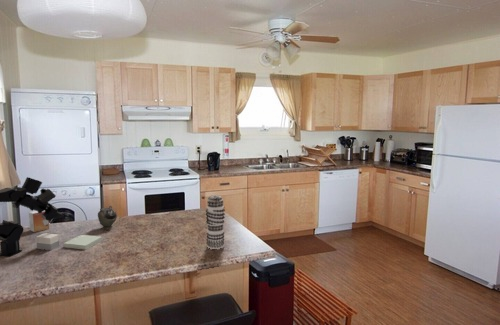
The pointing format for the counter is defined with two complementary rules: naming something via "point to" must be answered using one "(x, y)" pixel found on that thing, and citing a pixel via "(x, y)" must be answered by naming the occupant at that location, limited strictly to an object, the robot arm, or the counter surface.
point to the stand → (83, 242)
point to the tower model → (215, 222)
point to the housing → (47, 241)
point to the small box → (38, 221)
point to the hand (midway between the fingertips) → (59, 212)
